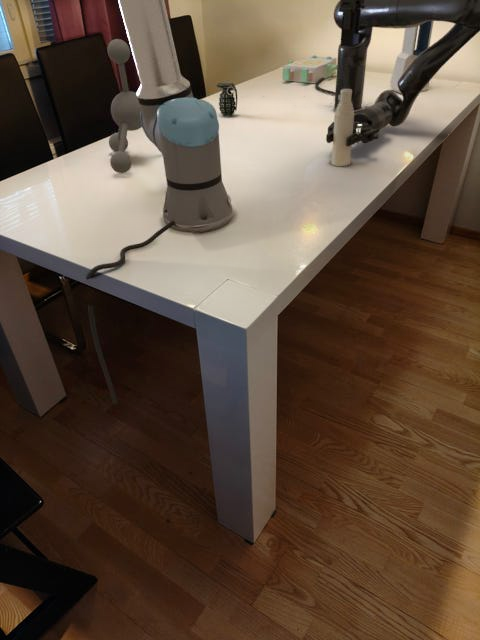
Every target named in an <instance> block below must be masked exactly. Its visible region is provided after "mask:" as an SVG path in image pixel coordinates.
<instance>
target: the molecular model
mask: <svg viewBox="0 0 480 640" xmlns="http://www.w3.org/2000/svg"><path fill="white" fill-rule="evenodd" d="M107 55H108V57H109V59H110V60H111V61H112V62H113V63H115V64H117V67H118V71H119V76H120V77H119V78H120V82H121V88H122V91H121V92H119V93H118V94H116V95H115V96H114V98H113V99H112V101H111V105H110V115H111V117H112V120H113V121H114V122H115V124H116V125H117V126H118V132H114V133H112V134H110V136H109V139H108V146H109V148H110V150H112V151H113V152H114V153H112V155H111V157H110V159H109V162H110V167H111V168H112V170H113V171H115V172H116V173H118V174H126V173H127V172H129V170H131V168H132V163H133V162H132V158H131V156H130V155H129V154H128V153H127V152H125V151H126V150H127V149H128V146H129V141H128V138H127V136H128V131H129V132H131V131H132V132H134V131H137V130H140V129H142V124H141V109H140V106H139V102H138V98H137V95H136V93H137V92H135V91H131V90H129V84H128V78H127V73H126V67H125V64H126V63H127V62H128V60H129V59H130V56H131V48H130V46H129V45H128V43H126V42H125V41H124V40H123V39H120V38H115V39H112V40H111V41H110V42H109V43H108V45H107Z"/></svg>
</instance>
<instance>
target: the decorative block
mask: <svg viewBox="0 0 480 640" xmlns="http://www.w3.org/2000/svg"><path fill="white" fill-rule="evenodd" d="M337 60H338V57H332V56H317V55H312V56H310V57H308V58H302V59H299V60H296V61H293V60H289V61H287V64H285V66H283V67H282V81H287V82H288V81H289V82H297V83H306V84H307V83H308V84H316V83H317V82H318V81H319V80H320V79H321V78H323V77H324V79H323V80H325V79H328V78H330V77H332V76H333V75H334V74H337Z"/></svg>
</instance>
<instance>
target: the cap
mask: <svg viewBox="0 0 480 640" xmlns="http://www.w3.org/2000/svg"><path fill="white" fill-rule="evenodd" d="M358 39H359V34H354V39H353V45H355V44H358Z"/></svg>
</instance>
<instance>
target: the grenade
mask: <svg viewBox="0 0 480 640" xmlns="http://www.w3.org/2000/svg"><path fill="white" fill-rule="evenodd" d="M215 87H217V88H219V89H221V93H219V97H218V101H219V102H218V106H219V108H218V109H219V112H220V114H221V115H222V116H224V117H231V116H233V115H234V113H235V112H236V111H237V108H238V89H237V87H236V85H235V84H234V83H233V82H218V83H217V84H216V86H215ZM232 91H233V92H232ZM234 94H235V96H234Z"/></svg>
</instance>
